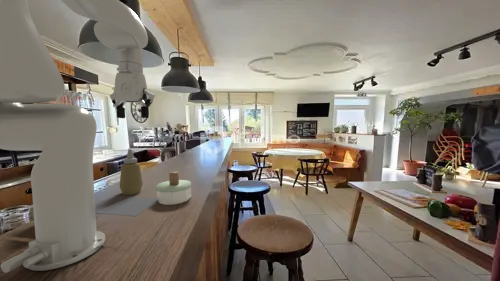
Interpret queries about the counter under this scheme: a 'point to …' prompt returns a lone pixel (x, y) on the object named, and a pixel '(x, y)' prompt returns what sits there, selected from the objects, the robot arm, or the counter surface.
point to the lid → (173, 184)
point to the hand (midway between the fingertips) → (132, 117)
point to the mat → (129, 206)
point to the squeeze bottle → (130, 175)
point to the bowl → (173, 197)
